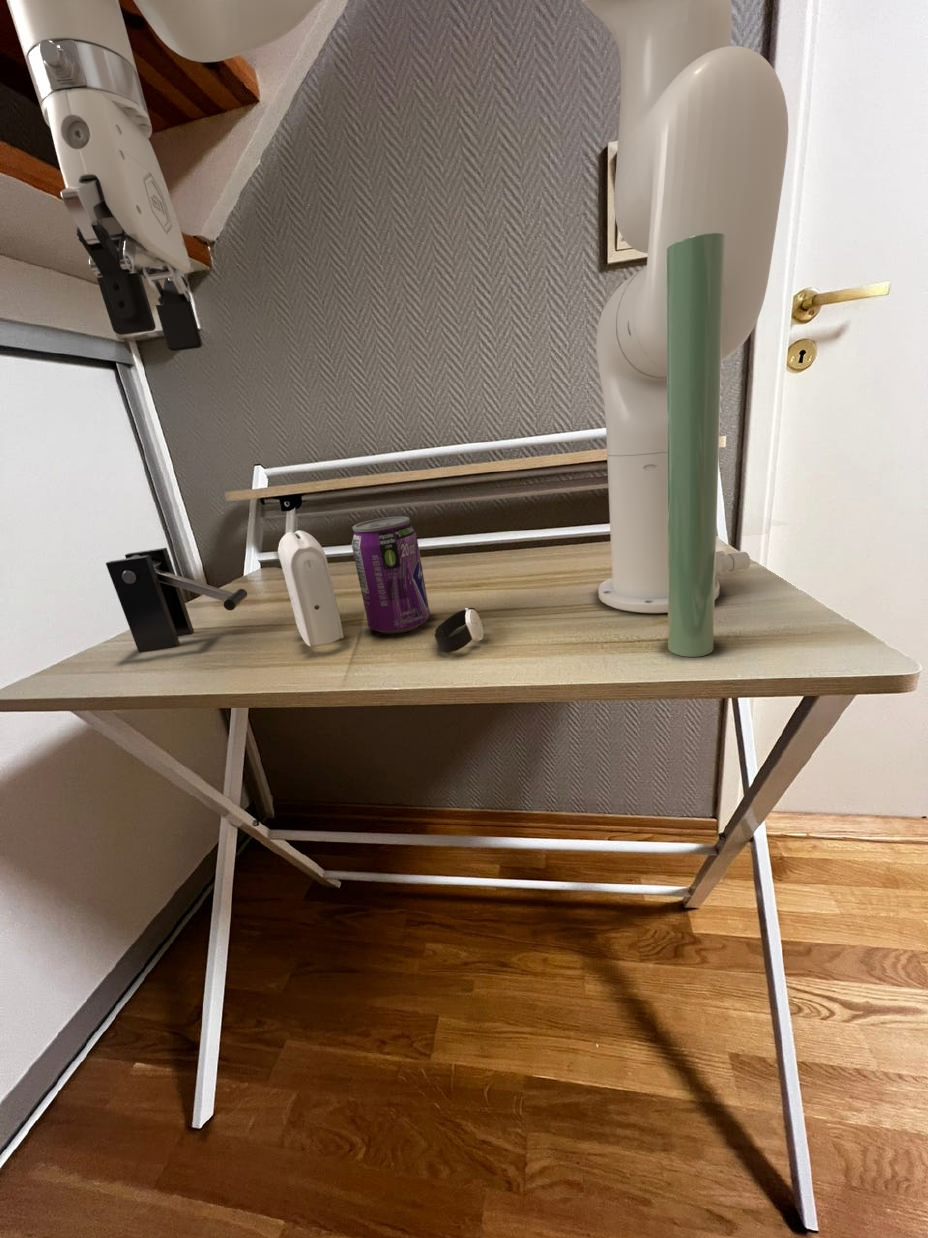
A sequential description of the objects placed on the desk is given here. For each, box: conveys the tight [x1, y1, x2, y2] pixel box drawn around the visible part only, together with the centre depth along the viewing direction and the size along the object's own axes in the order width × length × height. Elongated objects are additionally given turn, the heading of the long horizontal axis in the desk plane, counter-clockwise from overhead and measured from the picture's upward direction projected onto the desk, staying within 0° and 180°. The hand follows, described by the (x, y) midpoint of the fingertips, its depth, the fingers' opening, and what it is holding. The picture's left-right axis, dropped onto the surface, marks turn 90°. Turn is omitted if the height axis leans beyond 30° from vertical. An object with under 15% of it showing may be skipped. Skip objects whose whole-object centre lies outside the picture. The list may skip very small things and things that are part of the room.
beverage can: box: [351, 515, 431, 635], centre depth 59 cm, size 7×7×12 cm
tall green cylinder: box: [667, 233, 725, 658], centre depth 41 cm, size 4×4×30 cm
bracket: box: [105, 547, 195, 654], centre depth 62 cm, size 9×6×12 cm, turn 94°
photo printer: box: [277, 529, 345, 647], centre depth 59 cm, size 10×4×12 cm, turn 25°
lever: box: [127, 555, 248, 611], centre depth 62 cm, size 13×4×2 cm, turn 93°
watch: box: [434, 607, 484, 654], centre depth 54 cm, size 8×5×4 cm, turn 167°
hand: (163, 341), depth 48 cm, fingers open, 9 cm apart
